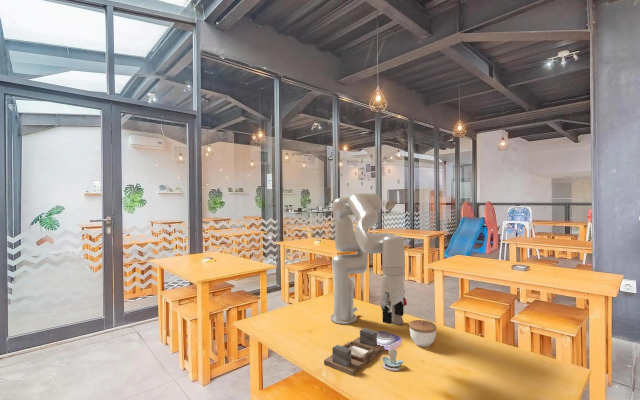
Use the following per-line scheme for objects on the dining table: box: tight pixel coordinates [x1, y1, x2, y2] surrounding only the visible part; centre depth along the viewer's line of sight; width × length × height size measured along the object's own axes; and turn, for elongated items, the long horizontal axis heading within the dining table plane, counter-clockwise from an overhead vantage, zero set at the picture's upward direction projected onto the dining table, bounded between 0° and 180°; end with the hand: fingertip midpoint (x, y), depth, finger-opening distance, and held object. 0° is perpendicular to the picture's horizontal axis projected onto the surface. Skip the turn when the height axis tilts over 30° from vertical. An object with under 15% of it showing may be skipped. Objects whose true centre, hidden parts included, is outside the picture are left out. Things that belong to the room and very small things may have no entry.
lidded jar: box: [408, 319, 438, 348], centre depth 136 cm, size 11×11×9 cm
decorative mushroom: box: [388, 296, 407, 326], centre depth 158 cm, size 10×9×15 cm
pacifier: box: [381, 347, 404, 372], centre depth 118 cm, size 7×6×6 cm
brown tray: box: [323, 327, 385, 376], centre depth 125 cm, size 24×12×6 cm, turn 143°
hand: (393, 318), depth 118 cm, fingers open, 9 cm apart
